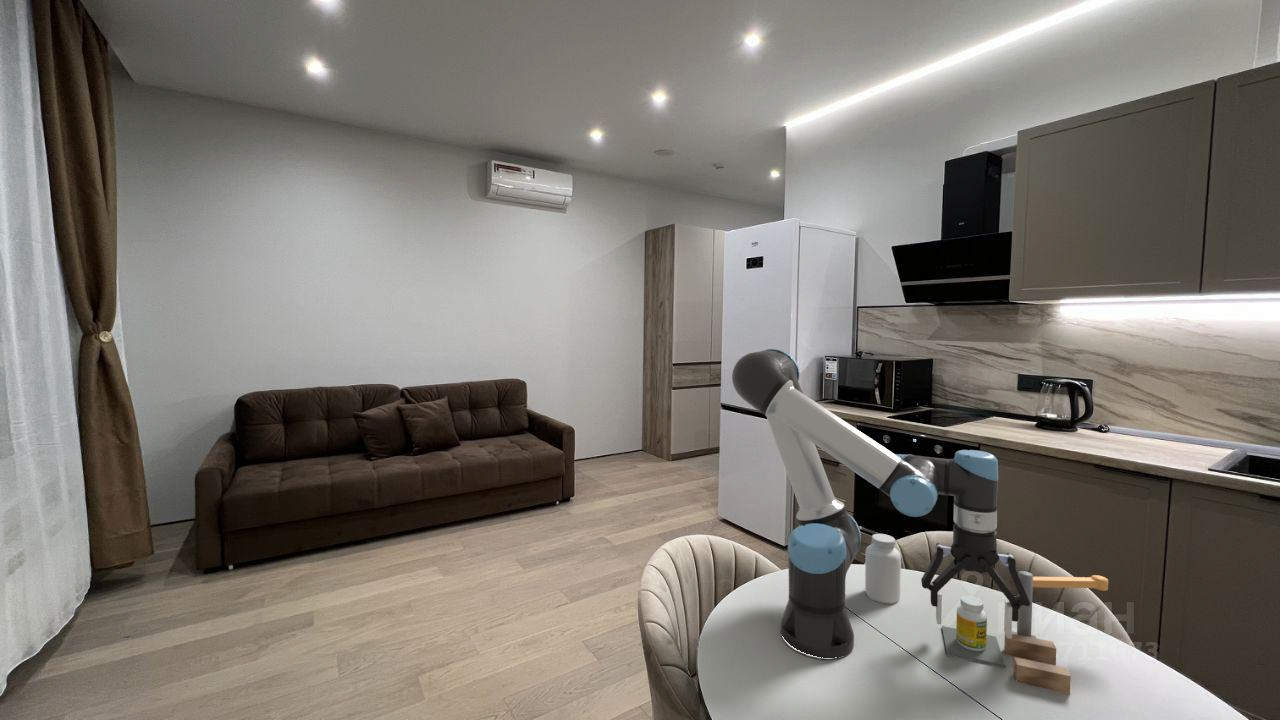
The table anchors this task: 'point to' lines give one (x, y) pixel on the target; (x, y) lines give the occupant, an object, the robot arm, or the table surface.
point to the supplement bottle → (971, 624)
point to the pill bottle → (883, 569)
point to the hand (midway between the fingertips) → (972, 627)
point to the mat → (986, 656)
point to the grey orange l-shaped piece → (1051, 582)
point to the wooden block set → (1037, 663)
